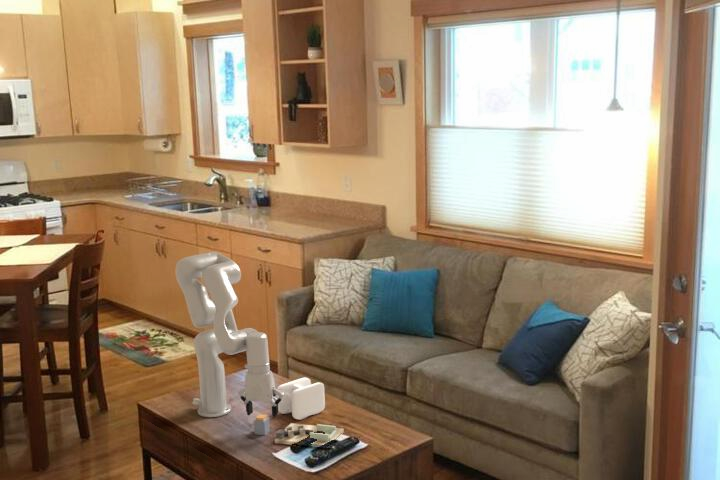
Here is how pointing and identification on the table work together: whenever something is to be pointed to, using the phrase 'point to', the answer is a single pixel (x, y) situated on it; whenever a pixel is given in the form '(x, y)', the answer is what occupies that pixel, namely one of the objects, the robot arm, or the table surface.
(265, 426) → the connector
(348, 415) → the table surface
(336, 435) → the board
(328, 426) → the bracket
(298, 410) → the cable organizer
